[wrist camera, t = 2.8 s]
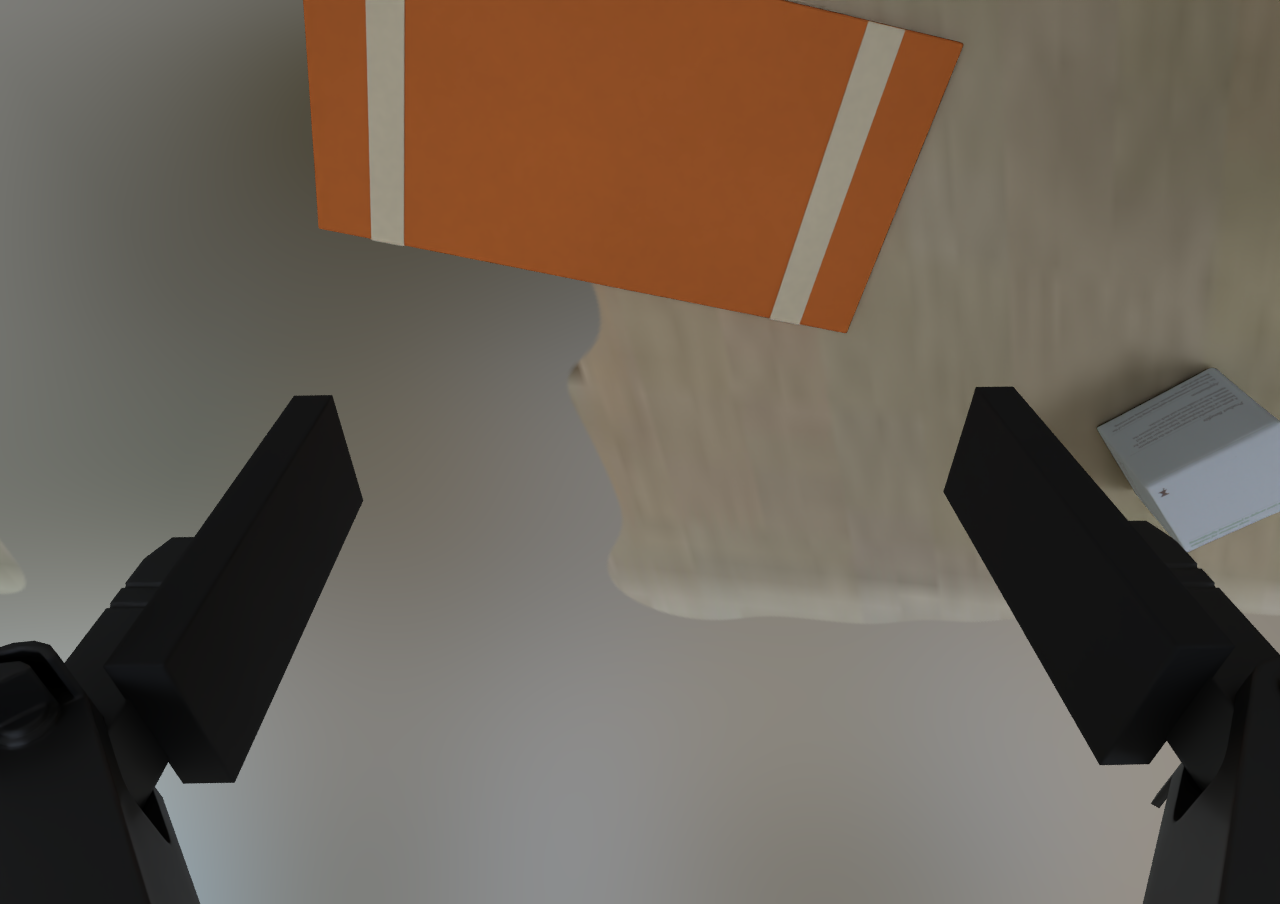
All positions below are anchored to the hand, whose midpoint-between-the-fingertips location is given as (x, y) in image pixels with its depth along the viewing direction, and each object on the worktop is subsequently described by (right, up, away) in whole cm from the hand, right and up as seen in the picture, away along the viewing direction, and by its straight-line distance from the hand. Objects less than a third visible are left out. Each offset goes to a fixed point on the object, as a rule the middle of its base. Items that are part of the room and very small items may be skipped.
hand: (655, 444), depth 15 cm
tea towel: (-1, +12, +14) cm, 19 cm away
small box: (+27, +1, +22) cm, 34 cm away
